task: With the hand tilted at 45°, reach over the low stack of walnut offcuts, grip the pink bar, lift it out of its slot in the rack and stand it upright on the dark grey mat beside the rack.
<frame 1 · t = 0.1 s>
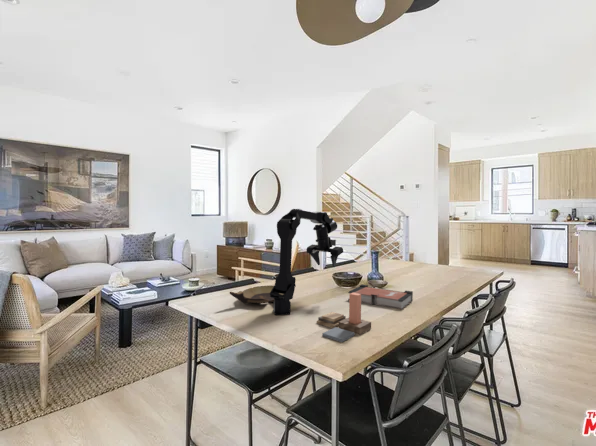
hand: (326, 265, 167), 15 cm above the table, tool pointing down, fingers open, 9 cm apart
pink bar: (354, 328, 122), resting in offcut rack
grey mat: (338, 335, 116), on the table
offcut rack: (354, 328, 122), on the table
broken bowl: (258, 302, 158), on the table
book: (380, 301, 161), on the table
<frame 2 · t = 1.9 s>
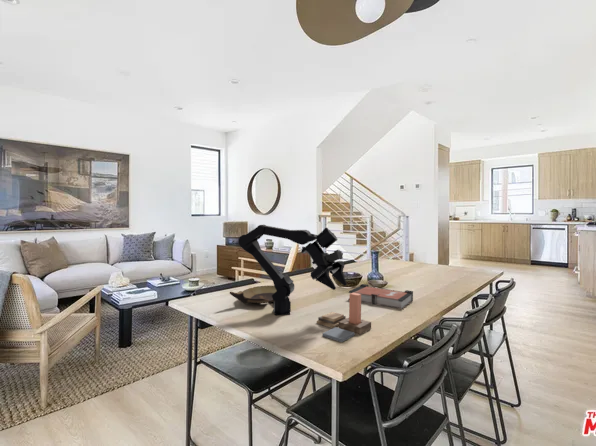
hand: (340, 287, 130), 14 cm above the table, tool tilted 40°, fingers open, 9 cm apart
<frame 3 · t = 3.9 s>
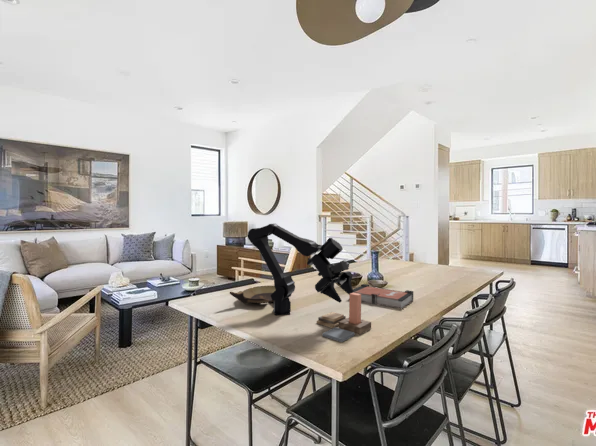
hand: (347, 299, 124), 10 cm above the table, tool tilted 45°, fingers open, 9 cm apart
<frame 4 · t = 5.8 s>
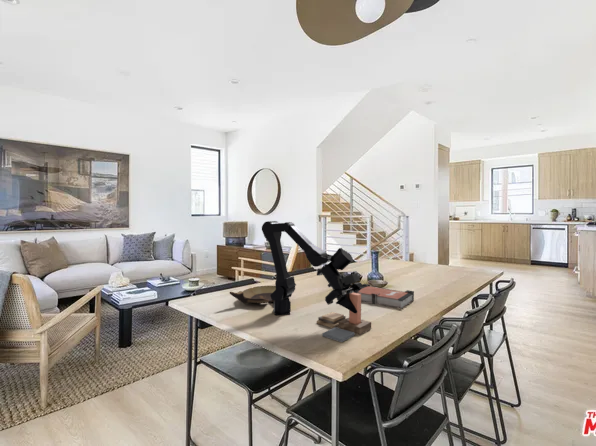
hand: (358, 311, 121), 7 cm above the table, tool tilted 45°, fingers closed on pink bar, 2 cm apart
pink bar: (354, 328, 122), resting in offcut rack, touching gripper
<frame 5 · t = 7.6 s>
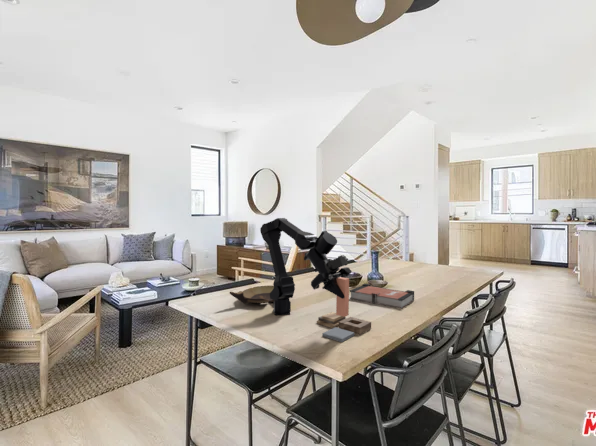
hand: (345, 297, 115), 14 cm above the table, tool tilted 45°, fingers closed on pink bar, 2 cm apart
pink bar: (342, 314, 117), point 7 cm above the table, touching gripper
when the fingers open (8 cm above the table, at t = 9.5 s): pink bar stays where it is, point 1 cm above the table.
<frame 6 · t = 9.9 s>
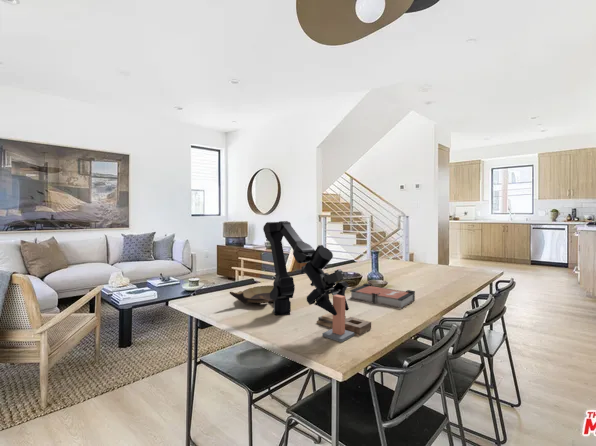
hand: (342, 312, 114), 9 cm above the table, tool tilted 45°, fingers open, 7 cm apart
pink bar: (338, 332, 115), point 1 cm above the table
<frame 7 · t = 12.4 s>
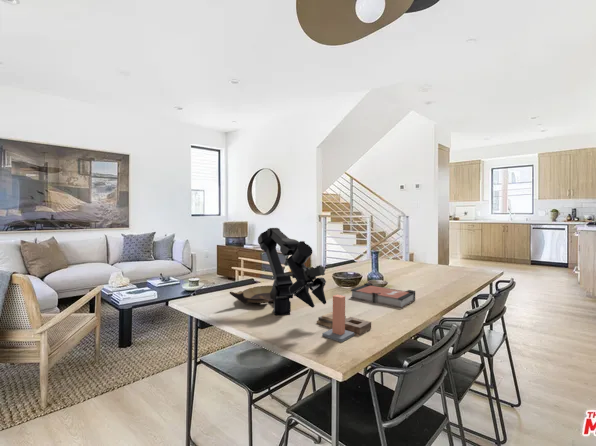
hand: (319, 305, 121), 9 cm above the table, tool tilted 40°, fingers open, 9 cm apart
pink bar: (338, 332, 115), point 1 cm above the table, touching grey mat
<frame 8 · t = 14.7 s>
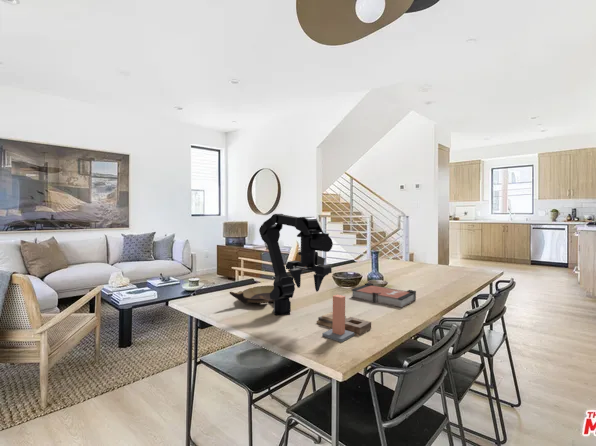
hand: (307, 289, 128), 13 cm above the table, tool pointing down, fingers open, 9 cm apart
at the end: pink bar 0.0 cm off-centre on the grey mat, point 1.0 cm above the grey mat's base; pink bar tilted 0°; the gripper is holding nothing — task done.
